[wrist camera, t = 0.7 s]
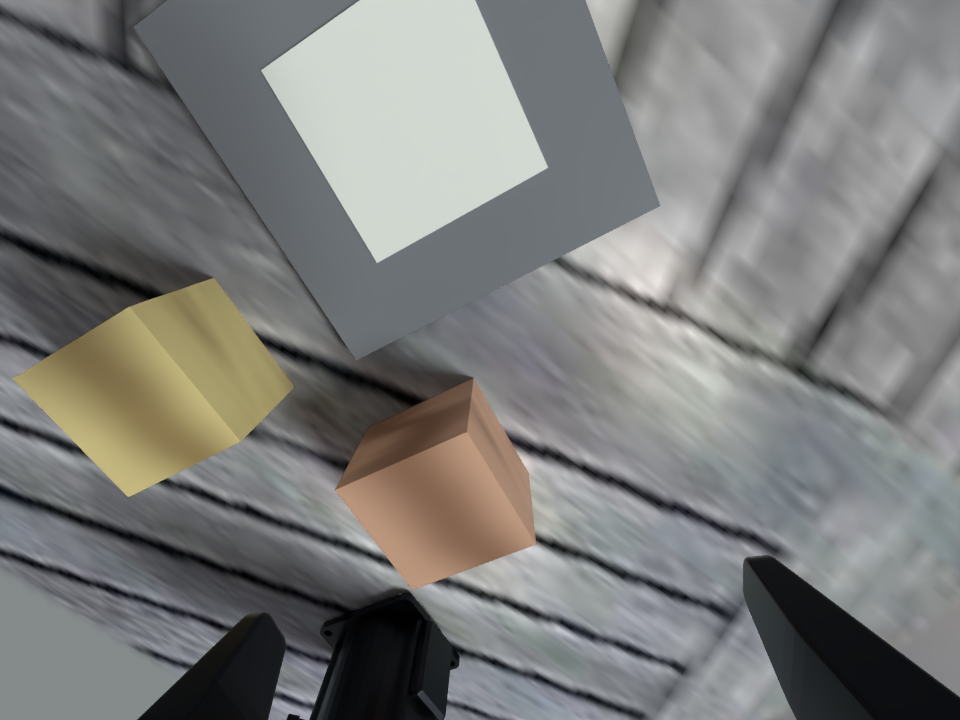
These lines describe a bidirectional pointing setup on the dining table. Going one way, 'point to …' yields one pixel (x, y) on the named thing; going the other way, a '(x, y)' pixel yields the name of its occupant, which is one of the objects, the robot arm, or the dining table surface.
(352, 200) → the charcoal baseplate
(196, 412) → the ochre brick
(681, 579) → the dining table surface
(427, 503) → the terracotta brick
